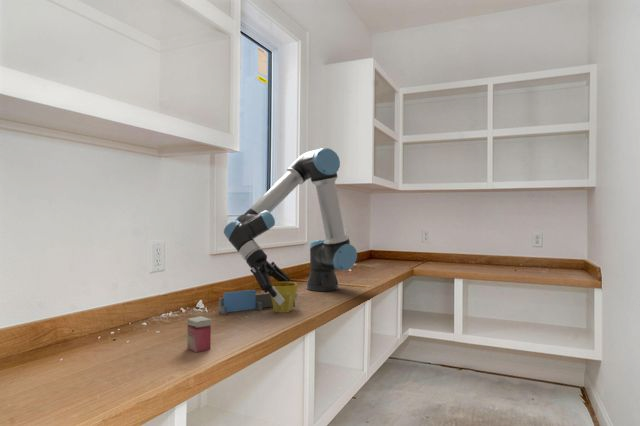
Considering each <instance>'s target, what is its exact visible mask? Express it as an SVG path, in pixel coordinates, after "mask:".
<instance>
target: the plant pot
mask: <svg viewBox="0 0 640 426" xmlns="http://www.w3.org/2000/svg"><path fill="white" fill-rule="evenodd" d="M271 285H272V287H273V286H274V287H275V288H276V289H277V291H278V292H279V293H280V294H281V296H282V297H283V298H284V299H285V301H284V302H283V303H282V304H281V305H280V306H279V304H278V303H277V302H276V301H275V299H274V298H273V297H272V296H271V299H272V304H273V306H272V308H273V312H276V313H288V312H291V311H292V309H293V307H294V306H293V302H294V297H295V294H296V293H297V292H298V283H297V282H293V281H289V282H279V281H275V282H274V281H273V282H271ZM268 293H269V292H268ZM269 294H270V293H269ZM270 295H271V294H270Z"/></svg>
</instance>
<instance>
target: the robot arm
mask: <svg viewBox="0 0 640 426" xmlns="http://www.w3.org/2000/svg"><path fill="white" fill-rule="evenodd" d="M340 167H341V161H340V158H339V156H338V154H337V152H335V151H334V150H333V149H331V148H328V147H323V148H318V149H314V150H309V151H307V152H304V153H303V154H301V155H300V156H299V157H298V158H297V159H296V160H295V161H294V162H293V163H291V165H290V166H289V167H287V169H286V173H285V174H283V176H281V178H279V179H278V180H277V181H276V182H275V183H274V185H272V187H270V189H268V190H267V191H266V192H265V193H264V194H263V195H262V196H261V197H260V198H259V199H258V200H257V201H256V202H255V203H254V204H253V205H252V206H251V207H250V208H249V209H248V210H246V212H245V213H243V214H241V215H239V216H237V218H235V220H234V221H231V222H229V223H228V224H227V225H226V226H225V227H224V229H223V234H224V237H226V239H227V241H228V242H230V244H231V245H232V246H233V247H234V248H235V250H236V251H237V252H238V254H239V255H240V256H241V258H242V259H243V260H244V261H245V262H246V264H247V265H248V267H250V272H251V274H252V275H253V276H254V278H255V280H256V281H257V283H258V285H259V287H260V289H261V291H263V293H270V294H271V296H272V297H273V298H274V299H275V301H276V302H277V303H278V304H279V306H280V305H281V304H282V303H283V302H284V301H285V299H284V298H283V297H282V296H281V294H280V293H279V292H278V291H277V289H276V288H275V287H274V286H273V287H272V285H271V283H272V282H271V279H270V277H272V278H273V279H274V280H276V282H291V278H290V276H288V275H287V273H285V272H284V271H283V270H282V269H281V268H280V267H279V266H277V264H276V263H275V262H274V261H271V262H268V261H267V259H268V255H267V254H266V252H264V250H263V249H262V247H260V246H259V244H258V243H257V241H256V240H255V239H256V238H257V237H259V236H260V235H262V234H264V233H265V232H267V231H269V230H270V229H271V228H273V227H274V226H275V225H276V221H275V218H274V215H272V213H271V212H273V211H274V209H276V208H277V207H278V205H280V203H281V202H283V201H284V200H285V199H286V198H287V197H288V196H289V195H290V194H291V192H293V191H294V190H295V189H296V187H298V186H299V185H303V184H304V183H305V182H306V181H307V180H309V179H310V181H311V183H312V184H313V185H315V189H316V194H317V199H318V203H319V209H320V215H321V220H322V223H323V224H322V225H323V228H324V229H323V230H324V234H325V239H317V240H312V241H311V242H310V245H309V253H310V254H309V256H310V257H309V260H310V262H309V263H310V264H309V265H310V266H309V267H310V270H309V271H310V272H309V274H308V275H309V276H308V279H307V281H306V289H307V290H309V291H313V292H332V291H337V290H339V282H338V279H337V275H336V272H335V271H336V270H337V271H348V270H350V269H351V268H353V266H354V265H355V263H356V261H357V259H358V252H357V249H356V247H355V246H354V245H352V244H351V242H350V237H349V236H347V234H345V229H344V223H343V218H342V212H341V207H340V201H339V195H338V191H337V186H336V180H337V179H338V173H337V172H338V171H339V169H340ZM299 296H300V293H299V292H298V291H297V293H296V294H295V297H294V300H295V301H296V299H297V298H298V297H299Z"/></svg>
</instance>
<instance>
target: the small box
mask: <svg viewBox="0 0 640 426" xmlns="http://www.w3.org/2000/svg"><path fill="white" fill-rule="evenodd" d="M211 324H212V319H211V318H208V317H205V316H202V315H200V316H196V317H190V318H187V336H186V337H187V339H186V341H187V349H189V350H191V351H192V352H195V353H200V352H204V351H208V350H210V349H211V345H212V344H211V343H212V341H211V339H212V338H211V334H212V330H211V329H212V327H211V326H212V325H211Z"/></svg>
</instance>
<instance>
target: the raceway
mask: <svg viewBox="0 0 640 426" xmlns="http://www.w3.org/2000/svg"><path fill="white" fill-rule="evenodd" d="M256 291H257V289H247V290H238V291H237V290H236V291H230V292H229V291H228V292H223V297H219V298H218V299H219V303H218V308H219V309H218V311H219V312H218V313H220V314H222V315H223V316H226V315H227V313H229V312H240V311H246V310H247V311H248V310H254V309H256V310H258V311H263V308H269V307H273V304H272V299H271V295H270V294H269V292H267V293H265V292H263V293H256ZM295 306H296V299H295V300H294V302H293V307H295Z"/></svg>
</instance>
